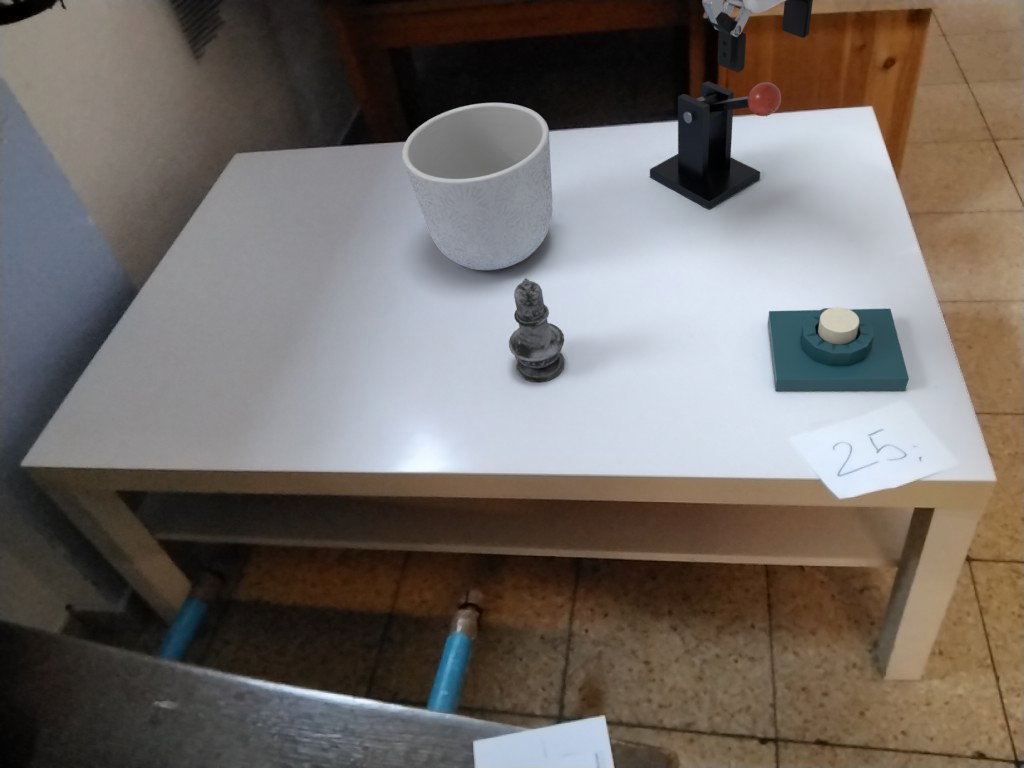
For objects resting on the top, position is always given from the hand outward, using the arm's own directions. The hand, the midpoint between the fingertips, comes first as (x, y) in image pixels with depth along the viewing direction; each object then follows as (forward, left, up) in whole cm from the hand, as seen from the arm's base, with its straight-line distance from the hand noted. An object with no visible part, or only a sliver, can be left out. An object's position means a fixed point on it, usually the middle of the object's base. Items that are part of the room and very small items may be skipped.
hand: (763, 50), depth 89 cm
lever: (+2, -3, -9) cm, 10 cm away
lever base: (+6, -7, -20) cm, 22 cm away
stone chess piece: (+24, +27, -20) cm, 41 cm away
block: (-6, +26, -20) cm, 34 cm away
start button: (-6, +26, -17) cm, 32 cm away
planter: (+32, +6, -20) cm, 38 cm away
